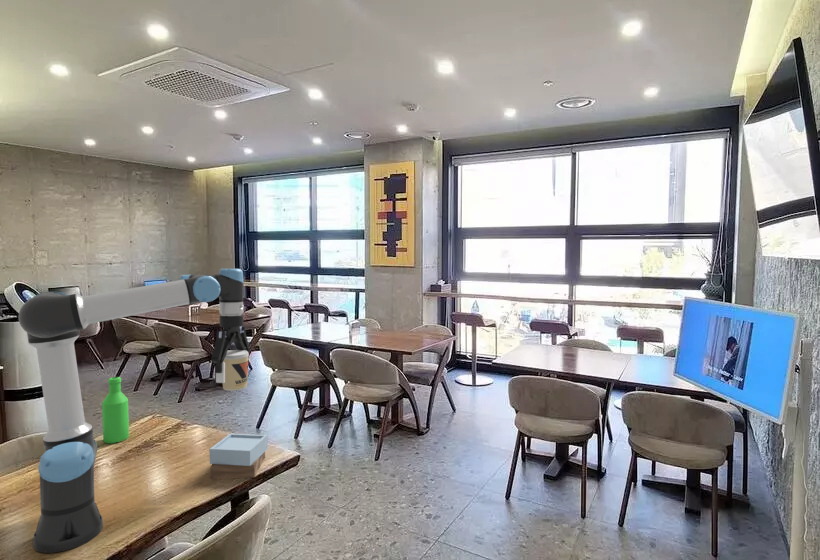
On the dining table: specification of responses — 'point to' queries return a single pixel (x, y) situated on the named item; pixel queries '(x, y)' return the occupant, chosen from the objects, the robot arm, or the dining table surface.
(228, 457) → the block top
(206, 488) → the dining table surface
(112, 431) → the bottle
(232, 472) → the block bottom
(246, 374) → the coffee cup
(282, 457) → the dining table surface
